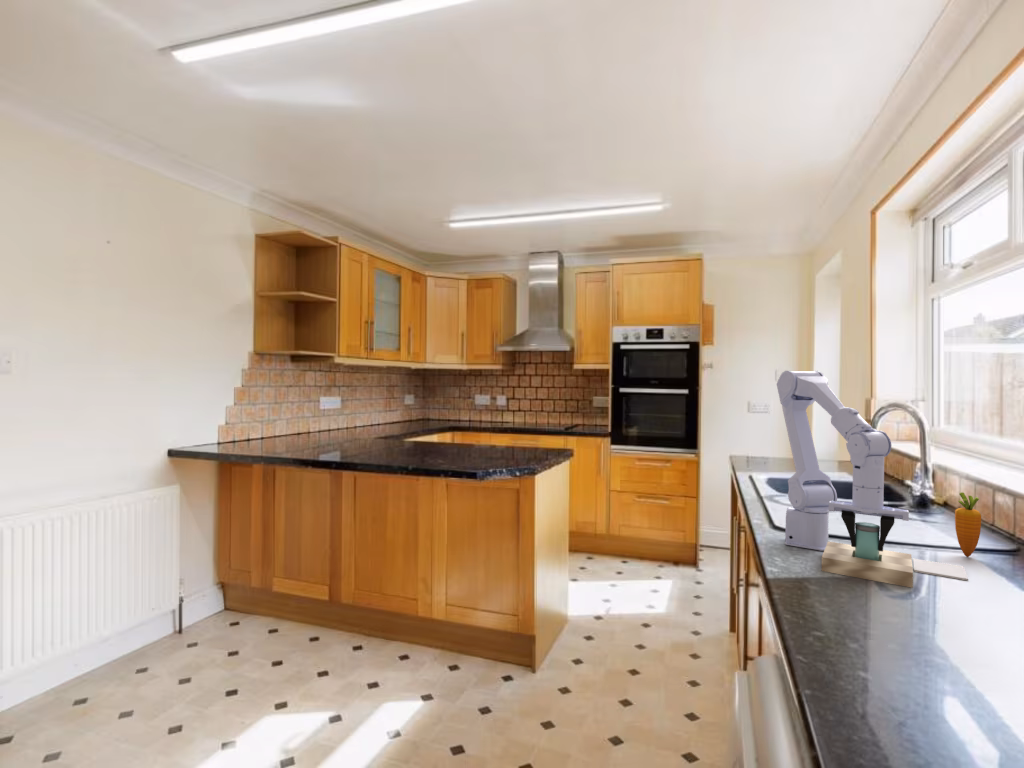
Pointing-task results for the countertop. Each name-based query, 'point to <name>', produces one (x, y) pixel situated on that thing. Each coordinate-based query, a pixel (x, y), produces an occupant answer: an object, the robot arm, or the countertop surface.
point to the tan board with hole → (868, 565)
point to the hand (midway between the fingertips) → (867, 547)
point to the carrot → (967, 525)
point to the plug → (867, 541)
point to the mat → (939, 569)
